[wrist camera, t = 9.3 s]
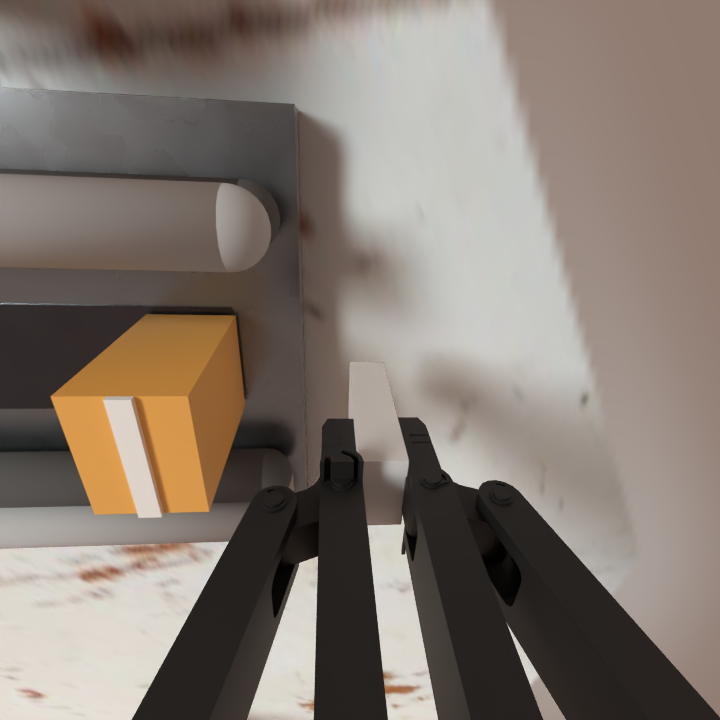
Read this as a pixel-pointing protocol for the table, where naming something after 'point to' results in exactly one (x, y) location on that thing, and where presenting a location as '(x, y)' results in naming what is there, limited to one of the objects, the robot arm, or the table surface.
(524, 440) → the table surface
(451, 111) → the table surface
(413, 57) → the table surface
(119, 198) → the light grey rounded bar
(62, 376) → the grey roller tray
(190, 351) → the cardboard box
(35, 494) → the grey piece
